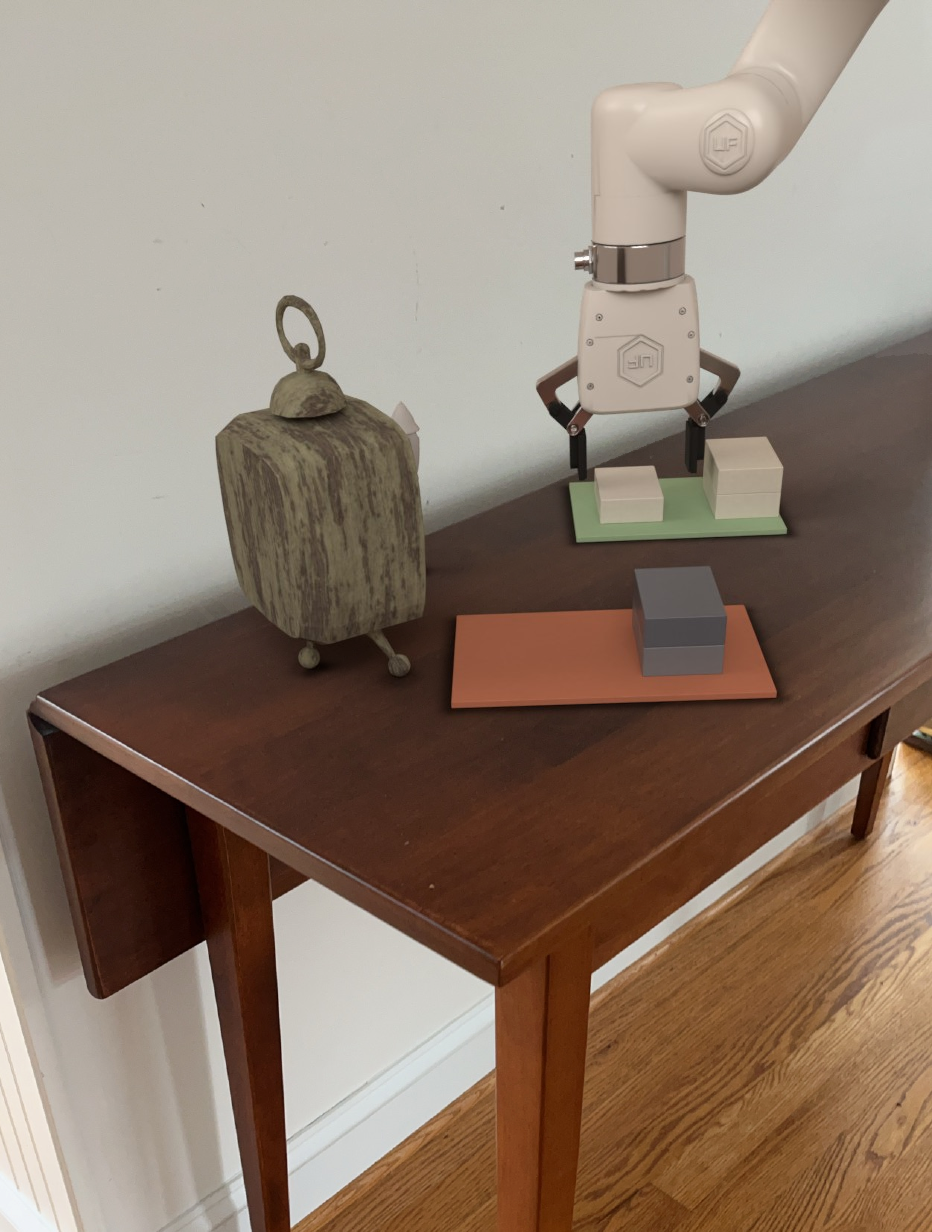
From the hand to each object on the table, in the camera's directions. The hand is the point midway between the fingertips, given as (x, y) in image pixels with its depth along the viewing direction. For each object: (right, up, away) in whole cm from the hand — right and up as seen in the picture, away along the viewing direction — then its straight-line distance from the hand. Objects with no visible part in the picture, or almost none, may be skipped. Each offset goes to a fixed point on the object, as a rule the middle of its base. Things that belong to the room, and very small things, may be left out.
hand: (636, 472), depth 111 cm
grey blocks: (-1, -20, -21) cm, 29 cm away
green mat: (+4, -3, +2) cm, 5 cm away
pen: (-20, -11, -6) cm, 23 cm away
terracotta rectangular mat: (-5, -20, -21) cm, 29 cm away
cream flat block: (0, -2, +2) cm, 3 cm away
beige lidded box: (+10, -2, +1) cm, 10 cm away
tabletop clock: (-25, -20, -19) cm, 37 cm away
